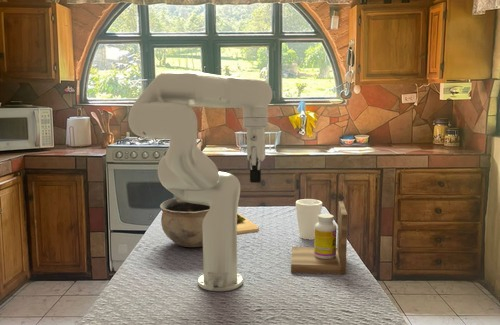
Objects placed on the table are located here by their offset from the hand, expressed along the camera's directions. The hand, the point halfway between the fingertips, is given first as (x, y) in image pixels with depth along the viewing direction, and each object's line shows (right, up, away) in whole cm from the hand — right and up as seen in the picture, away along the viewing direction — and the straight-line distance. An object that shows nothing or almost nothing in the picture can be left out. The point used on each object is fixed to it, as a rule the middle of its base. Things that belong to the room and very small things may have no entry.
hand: (255, 181), depth 157 cm
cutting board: (-15, -19, +46) cm, 52 cm away
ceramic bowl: (-21, -23, +19) cm, 36 cm away
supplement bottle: (+21, -23, -1) cm, 32 cm away
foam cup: (+19, -21, +27) cm, 39 cm away
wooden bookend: (+19, -25, 0) cm, 32 cm away
